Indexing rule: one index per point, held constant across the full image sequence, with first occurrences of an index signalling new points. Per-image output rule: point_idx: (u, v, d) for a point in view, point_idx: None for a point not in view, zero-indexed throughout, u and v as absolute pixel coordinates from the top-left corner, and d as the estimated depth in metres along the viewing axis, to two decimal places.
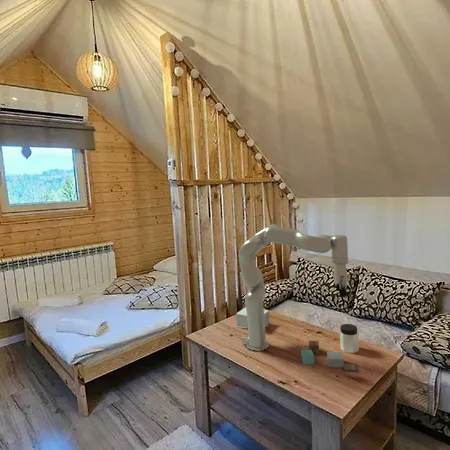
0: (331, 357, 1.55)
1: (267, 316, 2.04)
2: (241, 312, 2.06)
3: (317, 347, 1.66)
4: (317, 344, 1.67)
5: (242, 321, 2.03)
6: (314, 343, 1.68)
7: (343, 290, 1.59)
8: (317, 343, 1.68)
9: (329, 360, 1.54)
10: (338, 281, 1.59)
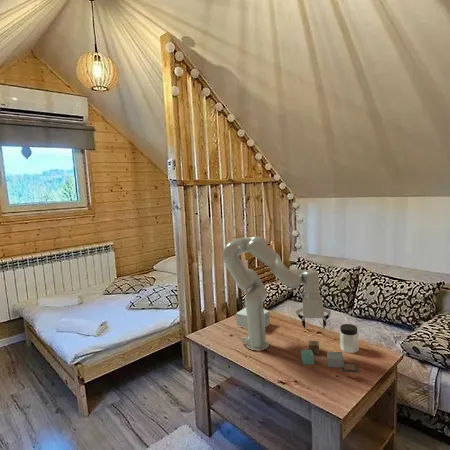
0: (331, 357, 1.55)
1: (267, 316, 2.04)
2: (241, 312, 2.06)
3: (317, 347, 1.66)
4: (317, 344, 1.67)
5: (242, 321, 2.03)
6: (314, 343, 1.68)
7: (325, 320, 1.66)
8: (317, 343, 1.68)
9: (329, 360, 1.54)
10: (323, 314, 1.63)
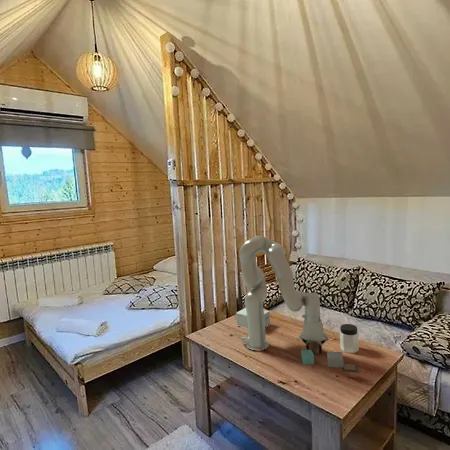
0: (331, 357, 1.55)
1: (267, 317, 2.03)
2: (241, 311, 2.07)
3: (317, 347, 1.66)
4: (317, 344, 1.67)
5: (241, 321, 2.04)
6: (314, 343, 1.68)
7: (321, 345, 1.68)
8: (317, 342, 1.68)
9: (329, 360, 1.54)
10: (323, 337, 1.65)
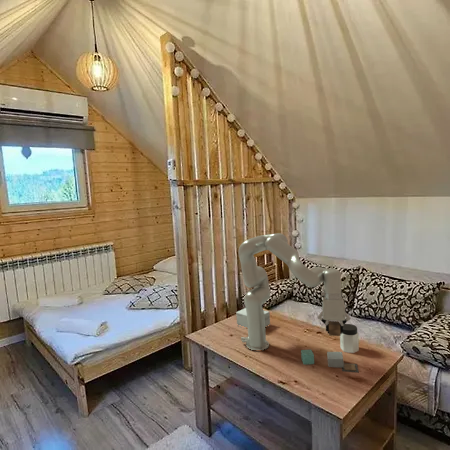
0: (331, 357, 1.55)
1: (267, 317, 2.03)
2: (241, 311, 2.07)
3: (338, 327, 1.52)
4: (338, 324, 1.53)
5: (241, 320, 2.04)
6: (335, 323, 1.54)
7: (342, 325, 1.54)
8: (337, 323, 1.55)
9: (329, 360, 1.54)
10: (345, 316, 1.51)
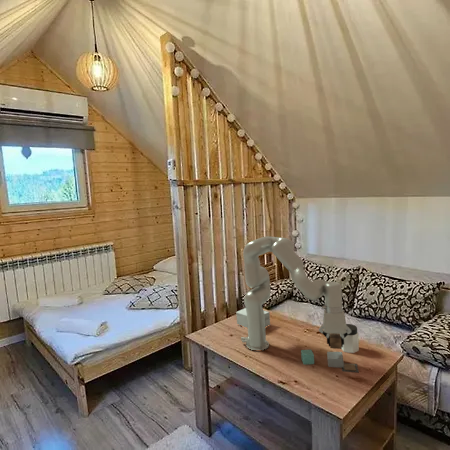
0: (331, 357, 1.55)
1: (266, 317, 2.02)
2: (241, 311, 2.08)
3: (339, 340, 1.52)
4: (339, 337, 1.53)
5: (241, 320, 2.05)
6: (336, 336, 1.55)
7: (343, 338, 1.54)
8: (338, 335, 1.55)
9: (329, 360, 1.54)
10: (346, 329, 1.52)
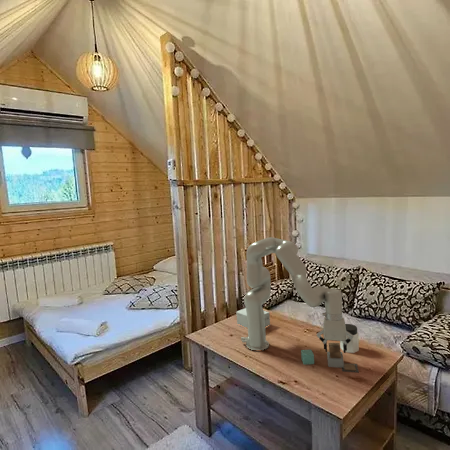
0: None
1: (266, 318, 2.02)
2: (241, 311, 2.08)
3: (338, 350, 1.53)
4: (338, 346, 1.54)
5: (241, 320, 2.05)
6: (335, 345, 1.55)
7: None
8: (338, 345, 1.56)
9: (329, 360, 1.54)
10: None
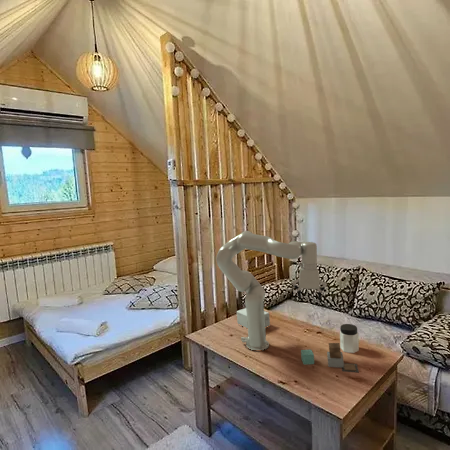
0: None
1: (266, 318, 2.01)
2: (242, 310, 2.09)
3: (338, 350, 1.53)
4: (338, 346, 1.54)
5: (240, 320, 2.06)
6: (335, 345, 1.55)
7: None
8: (338, 345, 1.56)
9: (329, 360, 1.54)
10: None
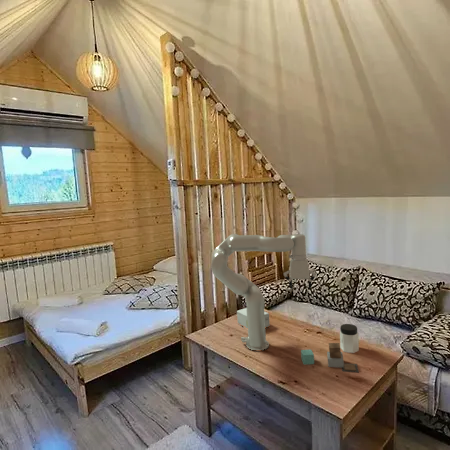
0: None
1: (265, 318, 2.01)
2: (242, 310, 2.09)
3: (338, 350, 1.53)
4: (338, 346, 1.54)
5: (240, 319, 2.06)
6: (335, 345, 1.55)
7: None
8: (338, 345, 1.56)
9: (329, 360, 1.54)
10: None
